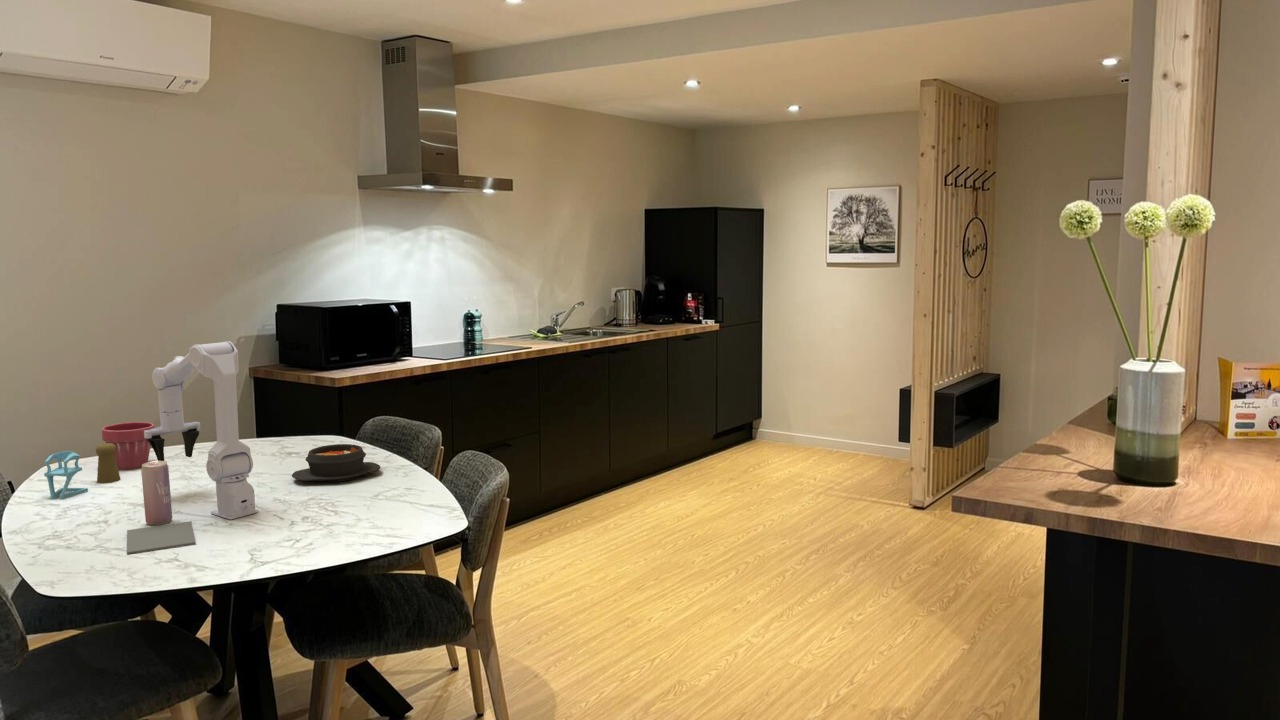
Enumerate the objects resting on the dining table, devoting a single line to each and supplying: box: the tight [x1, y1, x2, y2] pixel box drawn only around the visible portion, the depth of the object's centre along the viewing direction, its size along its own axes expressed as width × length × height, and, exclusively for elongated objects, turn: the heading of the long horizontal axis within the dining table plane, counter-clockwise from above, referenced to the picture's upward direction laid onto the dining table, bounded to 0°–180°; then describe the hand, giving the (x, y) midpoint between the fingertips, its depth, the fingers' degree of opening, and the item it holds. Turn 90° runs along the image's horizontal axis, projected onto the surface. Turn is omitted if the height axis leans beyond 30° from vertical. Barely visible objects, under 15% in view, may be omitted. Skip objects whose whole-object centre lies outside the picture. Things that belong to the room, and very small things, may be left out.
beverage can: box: [140, 460, 173, 526], centre depth 231 cm, size 6×6×15 cm
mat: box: [126, 520, 197, 555], centre depth 219 cm, size 18×14×1 cm
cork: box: [95, 442, 121, 484], centre depth 270 cm, size 6×6×11 cm
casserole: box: [291, 443, 381, 483], centre depth 272 cm, size 25×19×8 cm
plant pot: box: [101, 421, 155, 471], centre depth 287 cm, size 14×14×13 cm
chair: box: [43, 450, 89, 500], centre depth 256 cm, size 8×8×12 cm
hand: (175, 459), depth 254 cm, fingers open, 7 cm apart
